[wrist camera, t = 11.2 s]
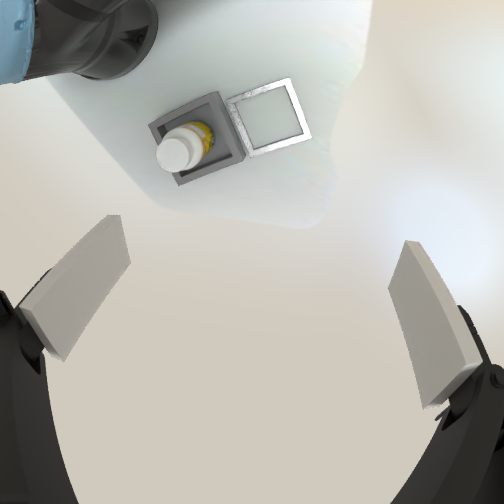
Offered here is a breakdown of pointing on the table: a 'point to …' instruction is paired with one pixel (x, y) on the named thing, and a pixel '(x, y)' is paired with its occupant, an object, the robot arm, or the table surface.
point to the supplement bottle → (185, 146)
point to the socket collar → (275, 145)
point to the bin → (226, 137)
